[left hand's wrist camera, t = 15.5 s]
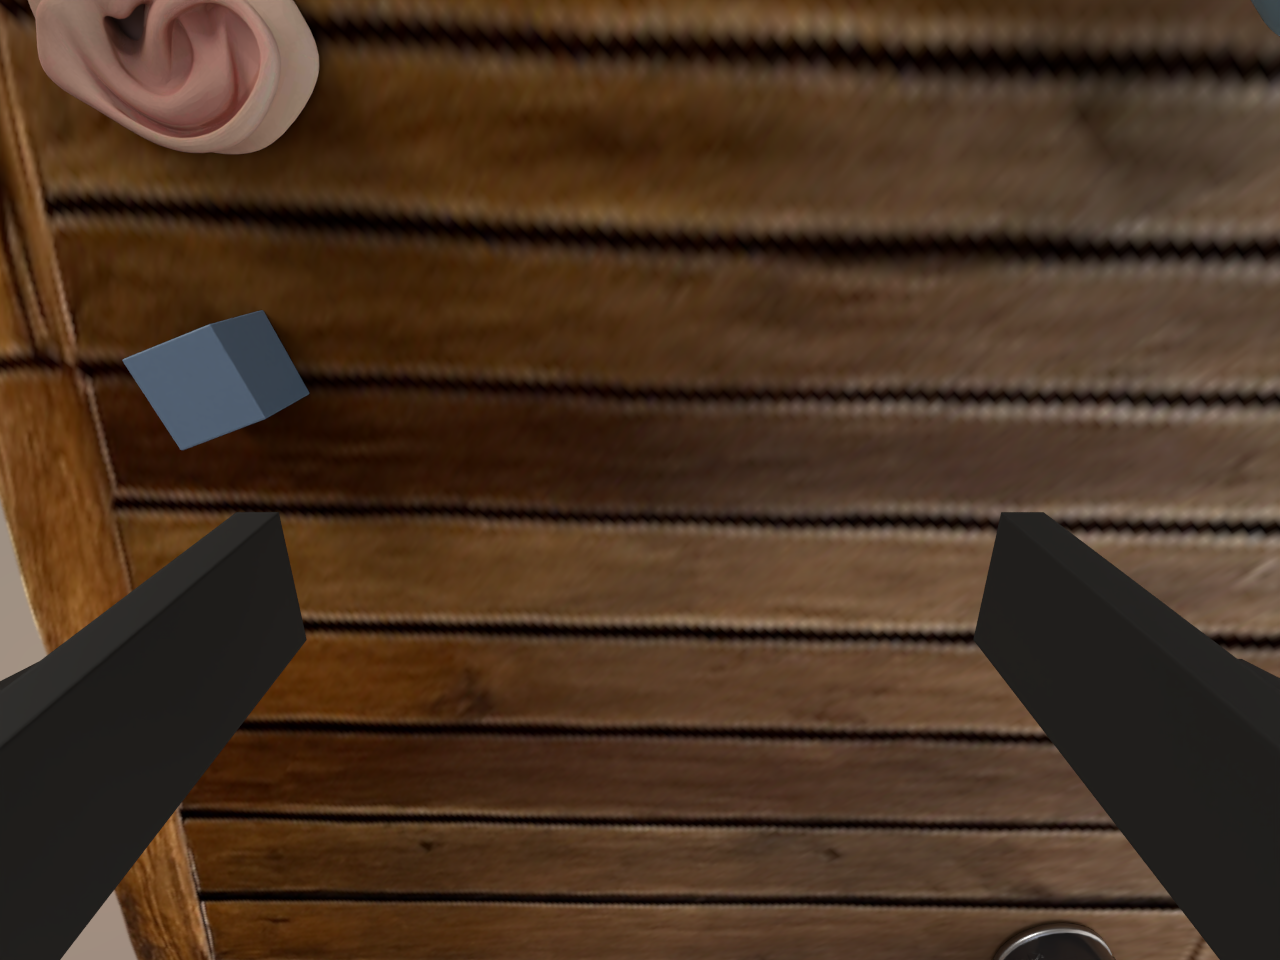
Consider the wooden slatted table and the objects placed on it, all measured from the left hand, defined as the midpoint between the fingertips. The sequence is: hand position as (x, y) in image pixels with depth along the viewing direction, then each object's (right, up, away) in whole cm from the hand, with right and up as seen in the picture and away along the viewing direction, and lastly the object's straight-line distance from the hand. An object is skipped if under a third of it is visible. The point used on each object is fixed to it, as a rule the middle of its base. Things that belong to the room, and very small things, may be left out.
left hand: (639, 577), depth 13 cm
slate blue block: (-22, +8, +26) cm, 35 cm away
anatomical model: (-22, +24, +19) cm, 38 cm away
